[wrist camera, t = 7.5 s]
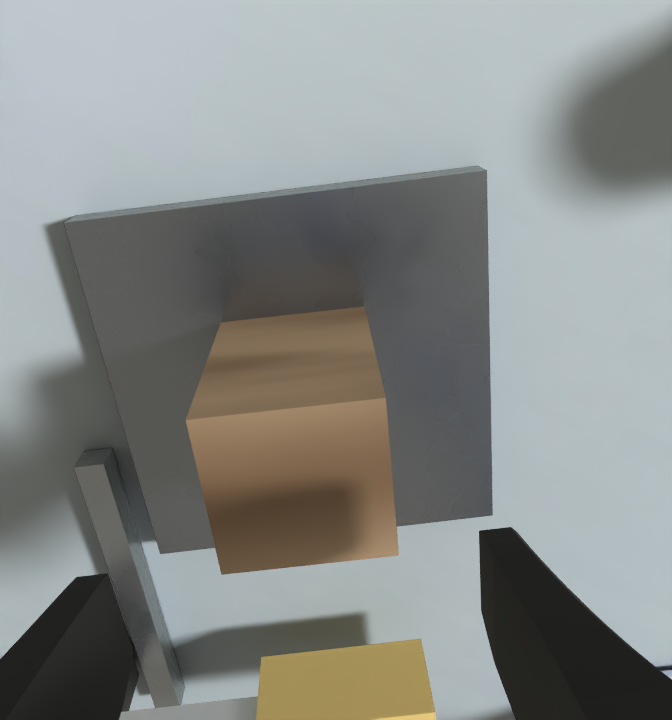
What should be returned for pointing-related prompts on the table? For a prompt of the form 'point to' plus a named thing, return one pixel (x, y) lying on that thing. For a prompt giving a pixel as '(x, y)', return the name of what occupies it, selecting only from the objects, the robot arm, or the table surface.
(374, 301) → the press base
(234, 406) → the brown rectangular block
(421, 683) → the lever with yellow grip
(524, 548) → the robot arm
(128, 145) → the table surface
